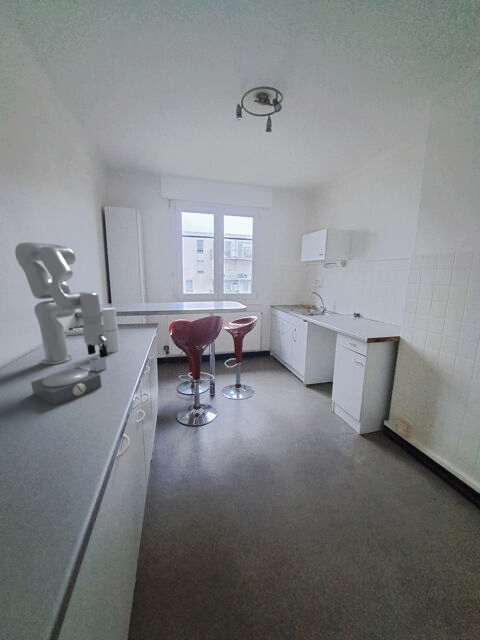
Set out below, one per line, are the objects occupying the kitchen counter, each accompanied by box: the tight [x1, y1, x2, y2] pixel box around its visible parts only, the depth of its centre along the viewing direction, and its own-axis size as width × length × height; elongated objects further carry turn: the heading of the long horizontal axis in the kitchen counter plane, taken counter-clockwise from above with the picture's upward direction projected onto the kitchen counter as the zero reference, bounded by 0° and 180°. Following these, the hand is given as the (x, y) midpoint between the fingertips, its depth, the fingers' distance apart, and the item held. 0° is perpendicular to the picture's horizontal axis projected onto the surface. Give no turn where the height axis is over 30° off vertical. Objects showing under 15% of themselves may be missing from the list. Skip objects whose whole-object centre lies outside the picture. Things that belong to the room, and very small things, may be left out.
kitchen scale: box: [30, 366, 102, 407], centre depth 99 cm, size 18×17×6 cm
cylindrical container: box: [100, 307, 121, 353], centre depth 146 cm, size 7×7×25 cm
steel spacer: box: [88, 355, 108, 374], centre depth 119 cm, size 5×5×6 cm
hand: (97, 355), depth 118 cm, fingers open, 9 cm apart
